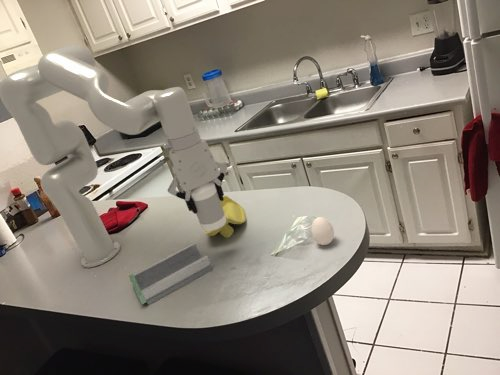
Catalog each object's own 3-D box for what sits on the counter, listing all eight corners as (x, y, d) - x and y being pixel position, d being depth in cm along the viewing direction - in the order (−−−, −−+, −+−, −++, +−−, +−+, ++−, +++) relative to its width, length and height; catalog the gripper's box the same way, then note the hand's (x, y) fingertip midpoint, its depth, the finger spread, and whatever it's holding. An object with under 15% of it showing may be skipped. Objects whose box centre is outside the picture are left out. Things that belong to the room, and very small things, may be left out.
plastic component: (204, 213, 137) (227, 191, 136) (221, 228, 139) (243, 207, 138) (203, 239, 118) (230, 214, 117) (223, 255, 120) (248, 232, 119)
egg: (332, 250, 102) (325, 224, 99) (312, 249, 104) (304, 224, 102) (339, 237, 106) (332, 211, 103) (319, 237, 108) (312, 212, 106)
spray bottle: (198, 233, 110) (174, 169, 103) (206, 219, 116) (184, 158, 108) (222, 230, 108) (200, 165, 100) (229, 216, 114) (209, 153, 106)
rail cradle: (133, 286, 115) (128, 275, 113) (197, 252, 121) (193, 241, 119) (143, 307, 104) (138, 296, 103) (213, 269, 110) (208, 257, 109)
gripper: (154, 158, 96) (181, 225, 103) (223, 129, 102) (243, 195, 109) (146, 151, 103) (171, 215, 110) (211, 125, 108) (231, 187, 115)
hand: (207, 205), depth 109 cm, fingers closed on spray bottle, 6 cm apart
